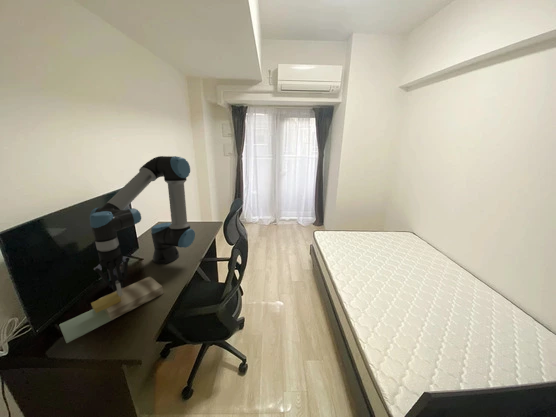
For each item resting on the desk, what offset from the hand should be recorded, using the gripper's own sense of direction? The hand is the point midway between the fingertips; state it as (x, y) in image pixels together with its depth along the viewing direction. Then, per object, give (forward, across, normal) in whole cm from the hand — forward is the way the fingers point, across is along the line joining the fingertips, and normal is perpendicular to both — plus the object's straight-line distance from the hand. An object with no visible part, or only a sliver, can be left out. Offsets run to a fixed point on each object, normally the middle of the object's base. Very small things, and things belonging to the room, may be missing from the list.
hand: (119, 294), depth 99 cm
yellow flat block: (+2, +5, 0) cm, 5 cm away
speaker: (+6, -4, -19) cm, 20 cm away
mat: (+6, +13, 0) cm, 14 cm away
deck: (+6, -5, 0) cm, 7 cm away
